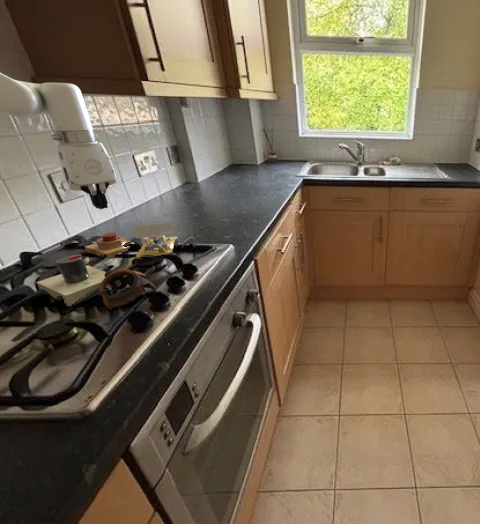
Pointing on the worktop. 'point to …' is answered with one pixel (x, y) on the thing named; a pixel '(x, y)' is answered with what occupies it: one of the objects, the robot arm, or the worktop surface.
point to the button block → (108, 247)
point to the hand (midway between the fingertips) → (101, 207)
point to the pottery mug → (123, 286)
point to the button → (109, 237)
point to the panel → (72, 286)
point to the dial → (73, 268)
